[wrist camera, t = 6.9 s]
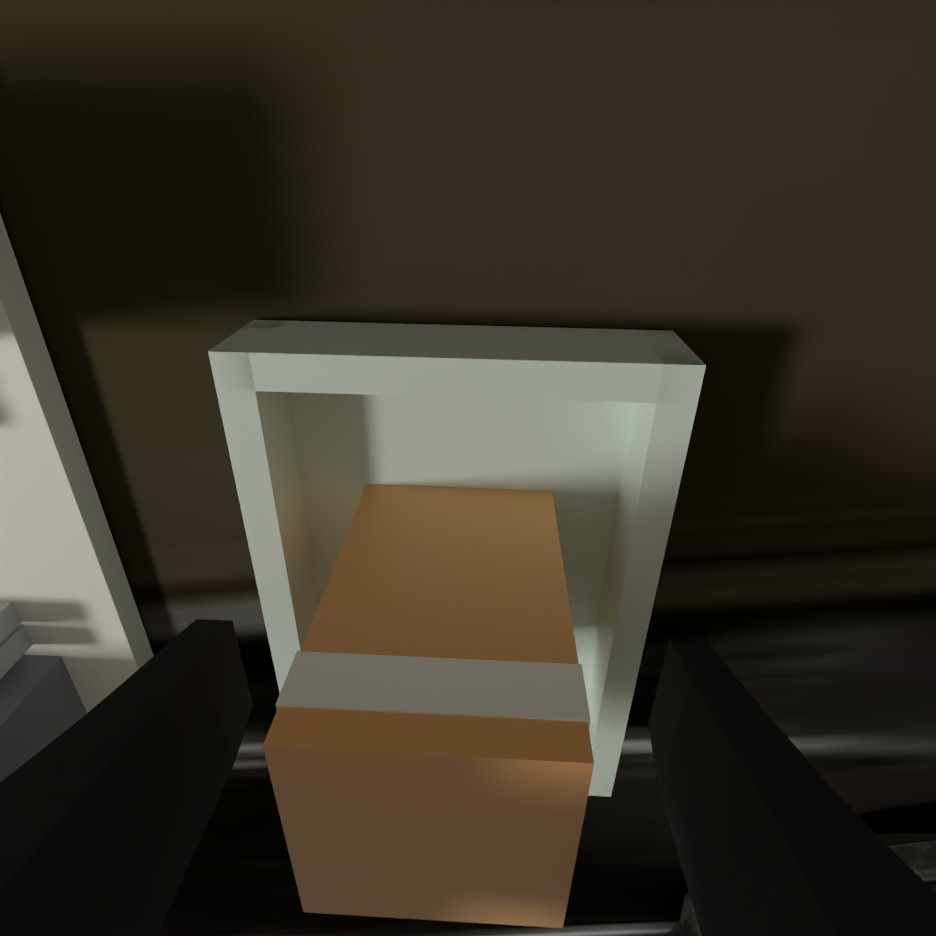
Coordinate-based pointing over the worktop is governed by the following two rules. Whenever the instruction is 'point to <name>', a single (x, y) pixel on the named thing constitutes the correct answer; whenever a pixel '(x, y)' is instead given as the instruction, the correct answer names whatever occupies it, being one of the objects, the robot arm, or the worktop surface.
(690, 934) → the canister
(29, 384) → the panel
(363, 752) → the block
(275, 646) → the tray
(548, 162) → the worktop surface
